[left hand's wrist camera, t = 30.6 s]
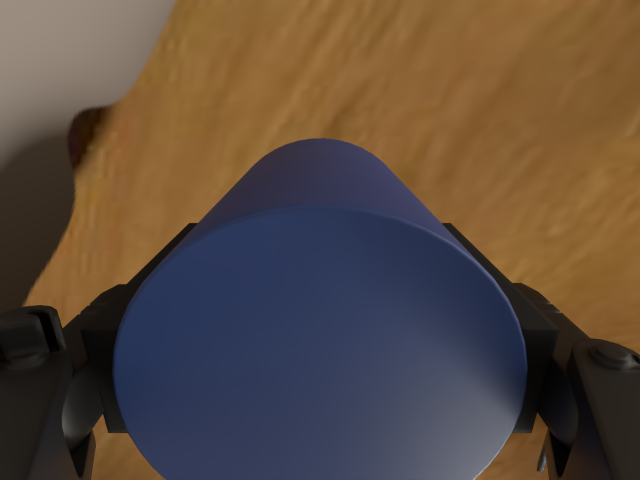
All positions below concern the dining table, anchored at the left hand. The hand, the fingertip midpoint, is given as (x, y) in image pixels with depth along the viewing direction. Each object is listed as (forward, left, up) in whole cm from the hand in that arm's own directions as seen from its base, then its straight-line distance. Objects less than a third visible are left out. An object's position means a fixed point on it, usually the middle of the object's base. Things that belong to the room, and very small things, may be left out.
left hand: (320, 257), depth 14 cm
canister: (0, 0, -3) cm, 3 cm away
